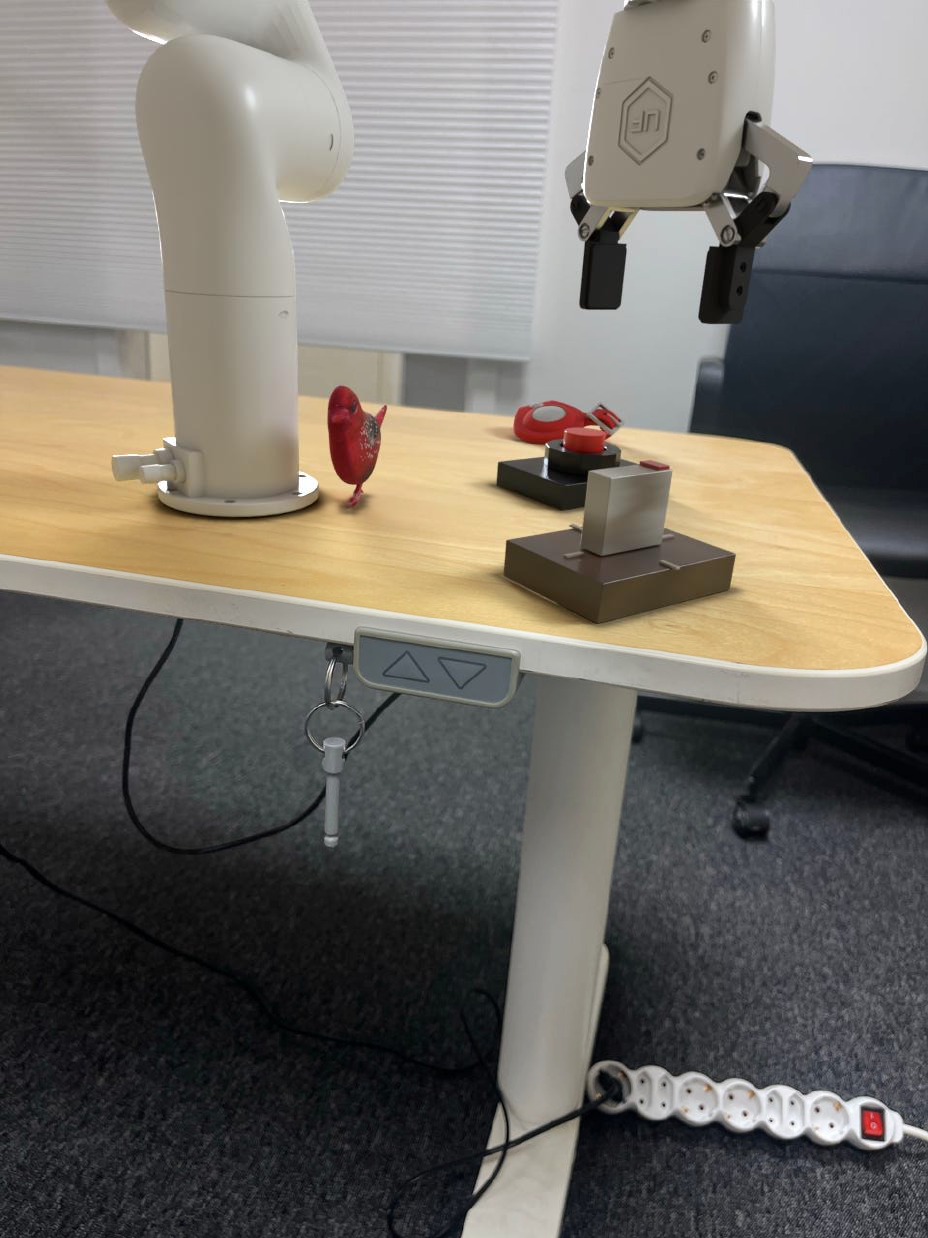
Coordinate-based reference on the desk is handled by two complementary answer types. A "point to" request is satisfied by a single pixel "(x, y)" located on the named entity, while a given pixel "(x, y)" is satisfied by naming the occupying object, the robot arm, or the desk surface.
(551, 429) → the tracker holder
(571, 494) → the button box
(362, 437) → the decorative bird figurine
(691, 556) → the brown flat block
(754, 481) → the desk surface
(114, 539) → the desk surface
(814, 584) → the desk surface
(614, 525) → the grey rectangular block
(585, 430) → the button
